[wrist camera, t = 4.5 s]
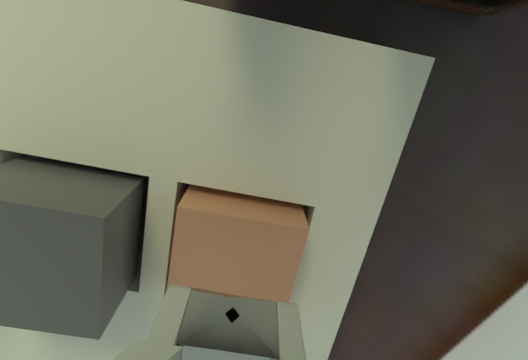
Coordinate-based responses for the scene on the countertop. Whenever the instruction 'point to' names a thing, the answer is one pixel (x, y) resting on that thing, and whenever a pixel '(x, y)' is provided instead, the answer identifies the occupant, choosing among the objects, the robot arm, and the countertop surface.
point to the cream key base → (207, 135)
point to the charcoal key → (66, 245)
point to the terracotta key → (237, 243)
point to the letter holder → (475, 5)
